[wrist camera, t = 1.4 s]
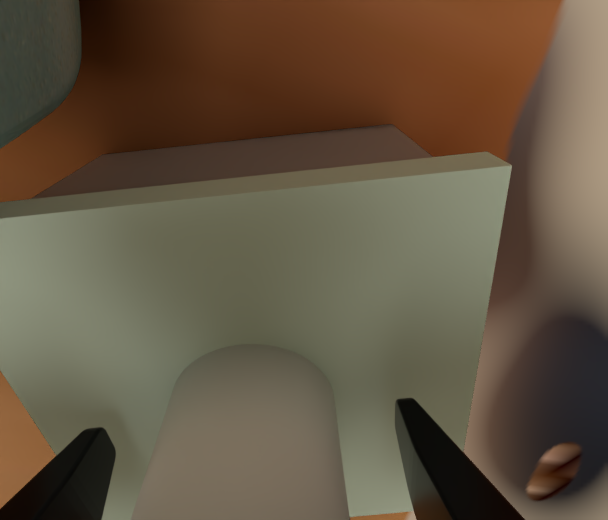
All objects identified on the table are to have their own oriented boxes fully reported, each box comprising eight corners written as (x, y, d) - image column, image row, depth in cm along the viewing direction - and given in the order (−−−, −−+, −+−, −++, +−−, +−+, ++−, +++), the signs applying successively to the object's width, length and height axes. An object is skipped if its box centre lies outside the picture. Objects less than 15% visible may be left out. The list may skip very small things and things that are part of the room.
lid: (442, 476, 13) (519, 690, 9) (122, 506, 13) (43, 730, 9) (487, 151, 8) (736, 291, 3) (-52, 207, 8) (-459, 408, 4)
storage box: (388, 346, 18) (429, 469, 13) (176, 366, 18) (132, 496, 13) (392, 123, 13) (459, 177, 8) (102, 154, 13) (-16, 227, 8)
